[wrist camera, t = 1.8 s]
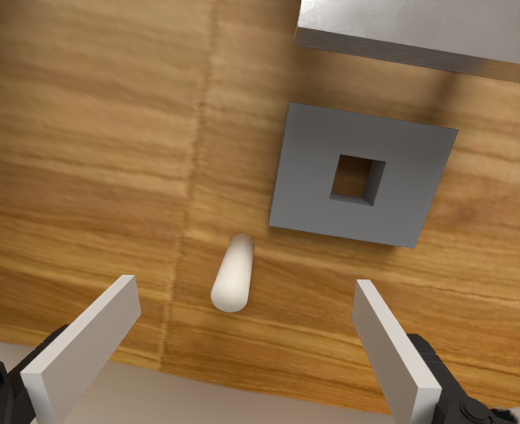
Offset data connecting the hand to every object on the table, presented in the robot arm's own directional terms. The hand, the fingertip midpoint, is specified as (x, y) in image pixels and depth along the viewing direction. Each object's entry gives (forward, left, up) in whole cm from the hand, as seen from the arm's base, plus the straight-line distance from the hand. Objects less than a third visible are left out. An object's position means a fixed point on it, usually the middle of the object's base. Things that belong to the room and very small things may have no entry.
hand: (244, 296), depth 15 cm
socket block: (+11, +6, -20) cm, 24 cm away
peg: (-1, -6, -20) cm, 21 cm away
